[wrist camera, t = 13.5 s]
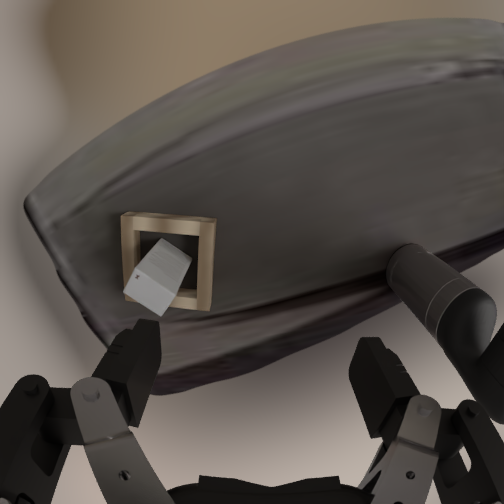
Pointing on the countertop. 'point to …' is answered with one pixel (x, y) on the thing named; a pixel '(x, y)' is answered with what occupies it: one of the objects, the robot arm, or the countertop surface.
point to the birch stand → (176, 225)
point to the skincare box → (158, 277)
